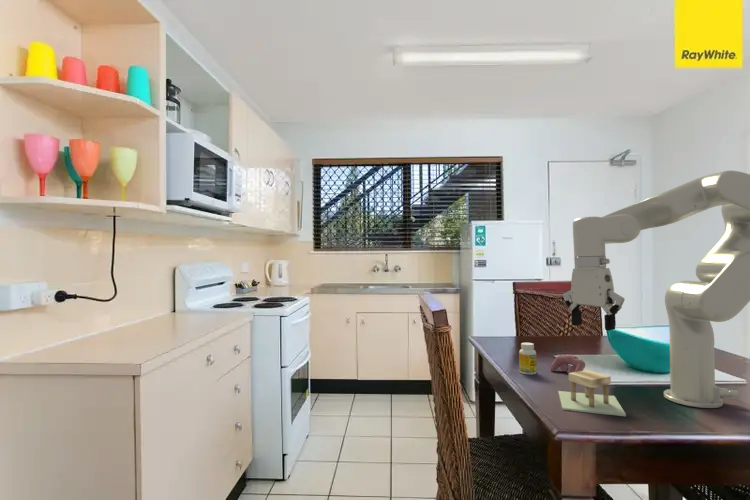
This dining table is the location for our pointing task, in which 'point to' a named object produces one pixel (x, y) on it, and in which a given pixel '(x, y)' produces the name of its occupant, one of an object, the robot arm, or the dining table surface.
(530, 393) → the dining table surface
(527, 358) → the supplement bottle
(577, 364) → the video game controller
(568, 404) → the mat
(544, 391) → the dining table surface
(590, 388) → the stool
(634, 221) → the robot arm
